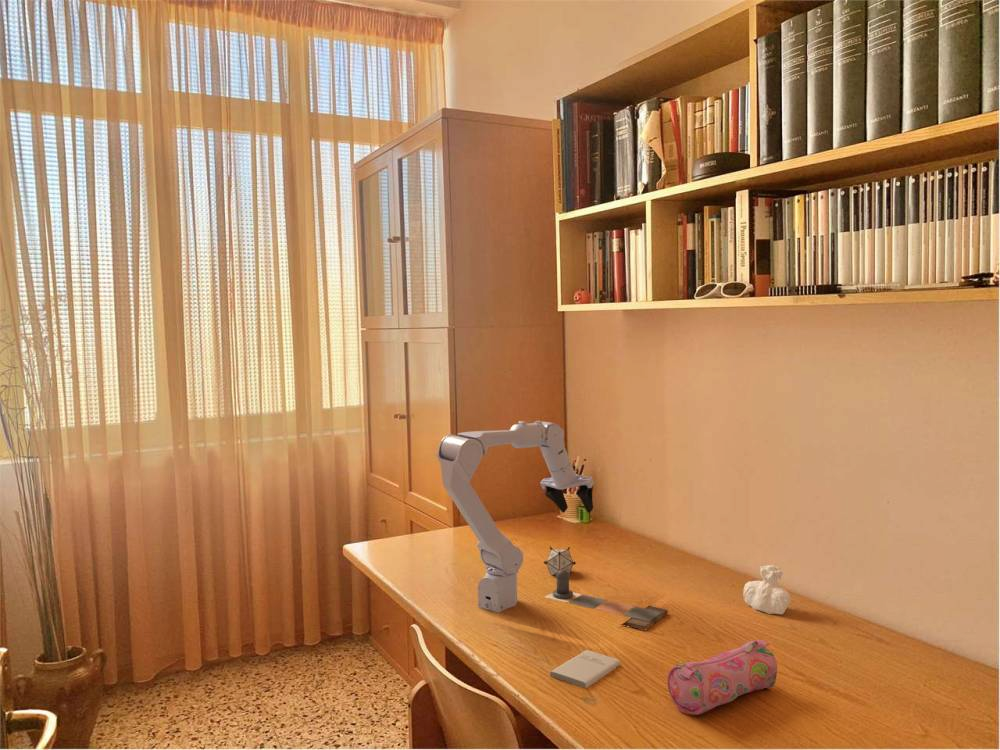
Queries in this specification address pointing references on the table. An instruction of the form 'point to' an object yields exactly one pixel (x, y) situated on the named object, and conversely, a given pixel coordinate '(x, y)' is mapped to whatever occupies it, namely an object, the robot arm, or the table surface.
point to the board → (619, 610)
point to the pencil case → (722, 677)
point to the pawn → (562, 586)
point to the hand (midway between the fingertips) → (577, 510)
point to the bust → (767, 592)
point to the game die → (559, 561)
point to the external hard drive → (585, 668)
